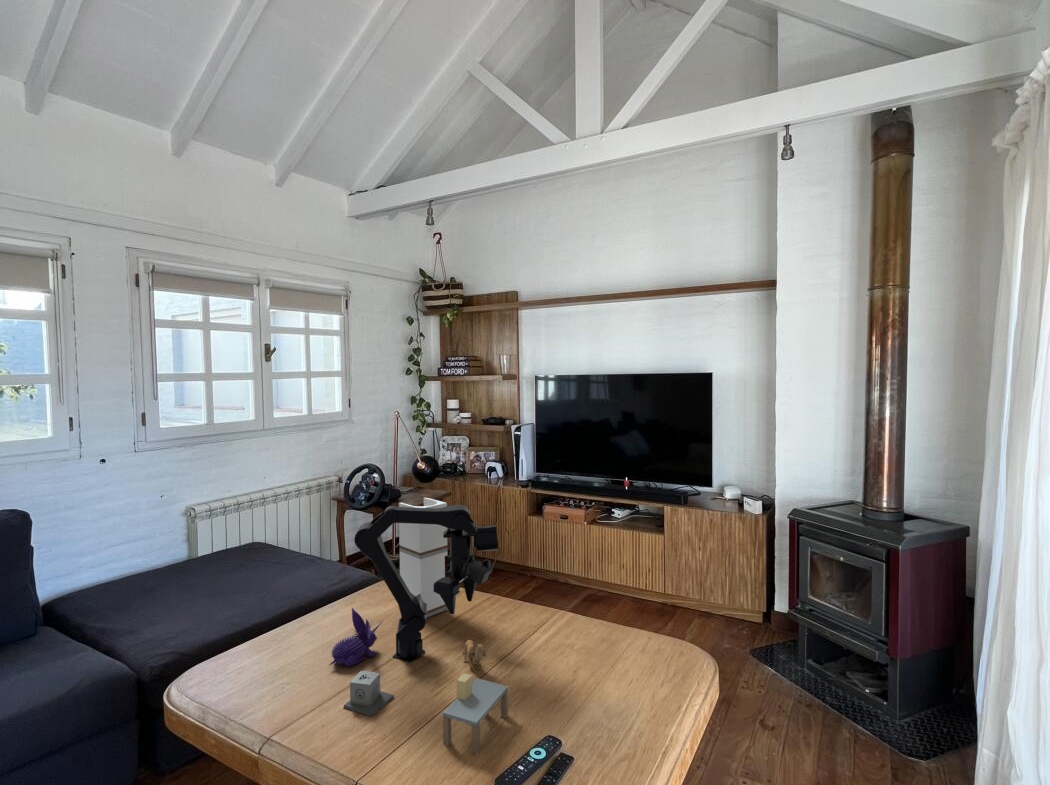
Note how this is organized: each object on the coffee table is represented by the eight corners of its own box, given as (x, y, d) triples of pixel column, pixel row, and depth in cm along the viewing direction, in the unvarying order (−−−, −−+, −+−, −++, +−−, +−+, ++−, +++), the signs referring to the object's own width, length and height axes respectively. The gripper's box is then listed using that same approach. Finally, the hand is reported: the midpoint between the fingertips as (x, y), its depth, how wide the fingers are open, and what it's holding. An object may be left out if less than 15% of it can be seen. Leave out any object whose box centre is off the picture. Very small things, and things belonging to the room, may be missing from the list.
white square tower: (448, 609, 180) (446, 502, 179) (421, 619, 172) (419, 508, 171) (427, 599, 188) (425, 497, 187) (400, 609, 180) (398, 503, 179)
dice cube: (361, 691, 133) (360, 670, 133) (380, 693, 132) (379, 673, 132) (350, 703, 128) (349, 682, 128) (370, 706, 127) (369, 684, 127)
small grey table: (443, 744, 114) (442, 693, 114) (476, 707, 127) (476, 661, 127) (476, 755, 111) (476, 703, 111) (508, 716, 124) (507, 668, 123)
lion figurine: (489, 673, 142) (489, 645, 141) (474, 678, 140) (474, 649, 139) (469, 653, 152) (469, 626, 152) (455, 657, 150) (455, 630, 149)
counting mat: (343, 707, 127) (343, 705, 127) (367, 689, 135) (367, 687, 135) (371, 716, 124) (371, 713, 124) (393, 697, 131) (393, 694, 131)
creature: (394, 648, 155) (393, 606, 154) (337, 677, 140) (336, 630, 140) (374, 639, 160) (373, 598, 159) (318, 666, 146) (317, 621, 145)
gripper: (468, 566, 141) (468, 627, 141) (501, 545, 158) (502, 599, 158) (431, 560, 145) (432, 619, 146) (468, 541, 162) (468, 593, 163)
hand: (461, 607), depth 153 cm, fingers open, 9 cm apart
